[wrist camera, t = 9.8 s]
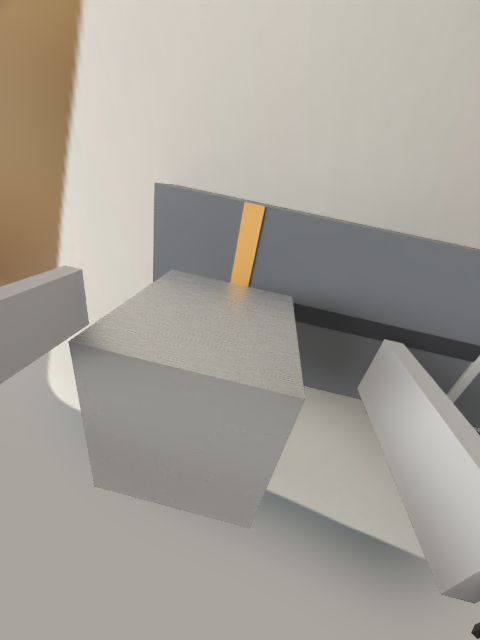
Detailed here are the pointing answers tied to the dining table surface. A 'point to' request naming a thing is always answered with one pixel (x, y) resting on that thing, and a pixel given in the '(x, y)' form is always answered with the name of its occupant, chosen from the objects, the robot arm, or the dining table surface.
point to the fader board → (336, 285)
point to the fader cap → (190, 394)
